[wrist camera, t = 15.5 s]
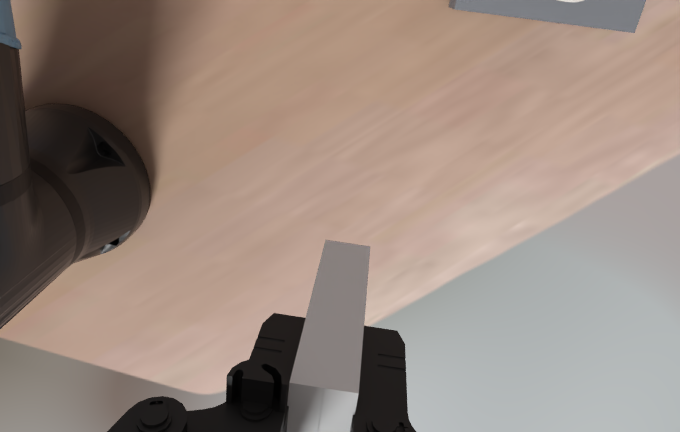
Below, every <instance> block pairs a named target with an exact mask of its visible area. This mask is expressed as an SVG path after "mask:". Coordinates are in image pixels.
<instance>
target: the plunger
mask: <svg viewBox="0 0 680 432" xmlns="http://www.w3.org/2000/svg"><path fill="white" fill-rule="evenodd" d="M557 1H563V2H580V1H584V0H557Z"/></svg>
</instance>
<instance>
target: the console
mask: <svg viewBox="0 0 680 432" xmlns="http://www.w3.org/2000/svg"><path fill="white" fill-rule="evenodd" d="M645 2H646V0H584V1H580V2H563V1H557V0H450V2H449V7H450V8H453V9H456V10H464V11H471V12H479V13H487V14H494V15H502V16H509V17H517V18H525V19H532V20H540V21H547V22H555V23H563V24H570V25H578V26H586V27H593V28H601V29H608V30H616V31H624V32H631V33H635V30H636V27H637V25H638V22H639V19H640V16H641V13H642V10H643V8H644V5H645Z"/></svg>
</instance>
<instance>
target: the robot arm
mask: <svg viewBox="0 0 680 432" xmlns="http://www.w3.org/2000/svg"><path fill="white" fill-rule="evenodd" d="M19 49H22V48H21V43H20V41H19V40H18V39H17V38H16V32H15V26H14V20H13V14H12V8H11V2H10V0H0V329H1V328H2V327H3V326H4V325H5V324H6V323H8V322H9V321H10V320H11V319H12V318H13V317H14V316H15V315H16V314H17V313H19V312H20V311H21V310H22V309H23V308H24V307H25V306H26V305H27V304H28V303H29V302H31V301H32V300H33V299H34V298H35V297H36V296H37V295H38V294H39V293H40V292H41V291H43V290H44V289H45V288H46V287H47V286H48V285H49V284H50V283H51V282H52V281H53V280H55V279H56V278H57V277H58V276H59V275H60V274H61V273H62V272H63V271H64V270H65V269H66V268H68V267H69V266H70V265H71V264H73V263H76V262H79V261H82V260H85V259H88V258H91V257H94V256H97V255H100V254H103V253H106V252H108V251H111V250H113V249H115V248H116V247H118V246H119V245H121V244H122V243H123V242H125V241H126V240H127V239H128V238H129V237H130V236H131V235H132V234H133V233H134V232H135V231H136V230H137V229H138V228H139V227H140V225H141V224H142V222H143V220H144V219H145V216H146V214H147V211H148V207H149V202H150V186H149V180H148V176H147V172H146V169H145V167H144V164H143V162H142V160H141V158H140V156H139V154H138V153H137V151H136V149H135V148H134V147H133V145H132V144H131V143H130V141H129V140H128V139H127V138H126V137H125V136H124V135H123V134H122V133H121V132H120V131H119V130H118V129H117V128H116V127H115V126H114V125H112V124H111V123H110V122H108V121H107V120H105V119H104V118H102V117H100V116H99V115H97V114H95V113H93V112H91V111H88V110H86V109H83V108H80V107H76V106H72V105H67V104H46V105H41V106H37V107H34V108H31V109H28V110H26V111H25V106H24V96H23V86H22V76H21V66H20V56H19ZM369 256H370V246H364V245H357V244H350V243H343V242H337V241H330V240H325V244H324V248H323V252H322V256H321V260H320V264H319V268H318V272H317V276H316V280H315V284H314V288H313V292H312V295H311V299H310V303H309V307H308V311H307V315H306V318H302V317H296V316H289V315H283V314H276V313H274V314H273V315H272V316H270V317H269V318H268V319H267V320H266V321H265V322H264V323H263V324H262V327H261V329H260V332H259V335H258V339H257V340H256V343H255V345H254V349H253V351H252V353H251V356H250V359H249V360H247V361H243V362H241V363H239V364H237V365H236V366H234V367H233V368H232V369H231V370H230V372H229V373H228V375H227V389H226V402H225V403H223V404H221V405H218V406H216V407H213V408H208V409H203V410H194V411H186V409H185V407H184V406H183V404H182V403H180V402H179V401H177V400H176V399H174V398H169V397H163V396H162V397H152V398H148V399H146V400H143V401H140V402H138V403H137V404H136V405H134V406H133V407H132V408H130V409H129V410H128V411H127V412H126V413H125V414H124V415H123V416H122V417H121V418H120V419H119V420H118V421H117V422H116V423H115V424H114V425H113V426H112V427H111V429H110V430H109V431H108V432H416V431H415V430H414V428H413V427H412V426H411V423H410V421H409V419H408V413H407V390H406V389H407V387H406V372H405V371H406V362H405V344H404V342H403V340H402V338H401V337H400V335H399V333H398V332H397V331H394V330H388V329H382V328H375V327H369V326H364V319H365V306H366V294H367V281H368V268H369Z"/></svg>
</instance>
